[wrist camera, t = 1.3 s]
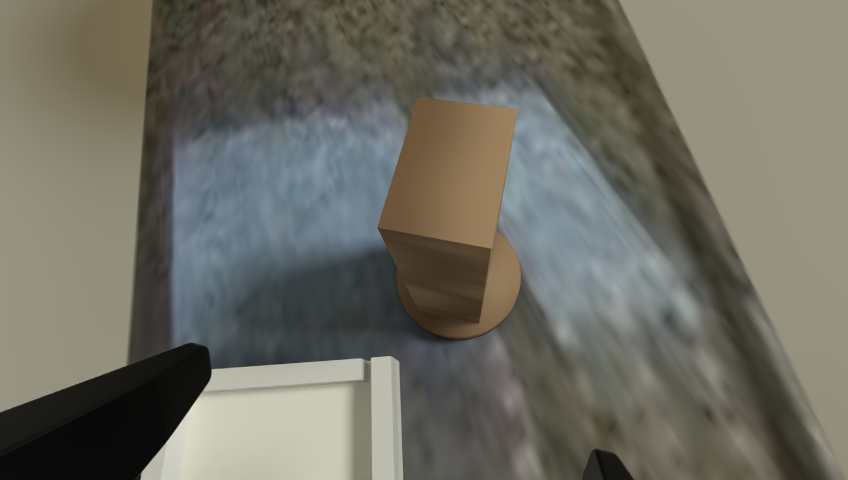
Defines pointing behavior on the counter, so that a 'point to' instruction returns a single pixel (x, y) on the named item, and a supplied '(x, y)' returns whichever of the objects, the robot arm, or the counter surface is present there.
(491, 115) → the brown upright block
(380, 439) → the tray
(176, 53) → the counter surface
